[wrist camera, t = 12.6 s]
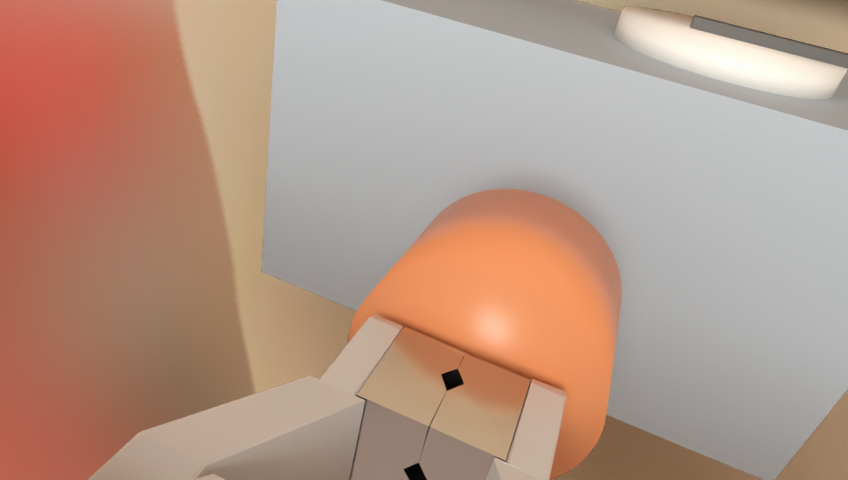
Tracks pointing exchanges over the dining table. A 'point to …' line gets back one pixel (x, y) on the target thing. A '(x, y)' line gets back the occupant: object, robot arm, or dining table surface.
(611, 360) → the button
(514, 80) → the gauge cabinet
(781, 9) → the dining table surface
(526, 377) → the robot arm
